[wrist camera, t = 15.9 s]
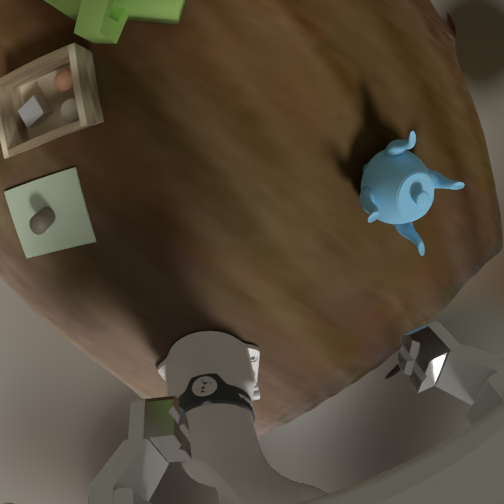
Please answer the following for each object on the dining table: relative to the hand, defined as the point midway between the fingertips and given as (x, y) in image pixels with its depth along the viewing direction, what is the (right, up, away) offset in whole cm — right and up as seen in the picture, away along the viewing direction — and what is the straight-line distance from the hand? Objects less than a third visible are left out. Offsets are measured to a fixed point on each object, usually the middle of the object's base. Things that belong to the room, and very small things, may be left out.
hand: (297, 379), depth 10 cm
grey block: (-29, +23, +21) cm, 42 cm away
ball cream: (-23, +22, +21) cm, 38 cm away
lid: (-31, +10, +28) cm, 43 cm away
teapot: (+19, +16, +35) cm, 43 cm away
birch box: (-27, +24, +21) cm, 42 cm away
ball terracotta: (-24, +25, +19) cm, 40 cm away
